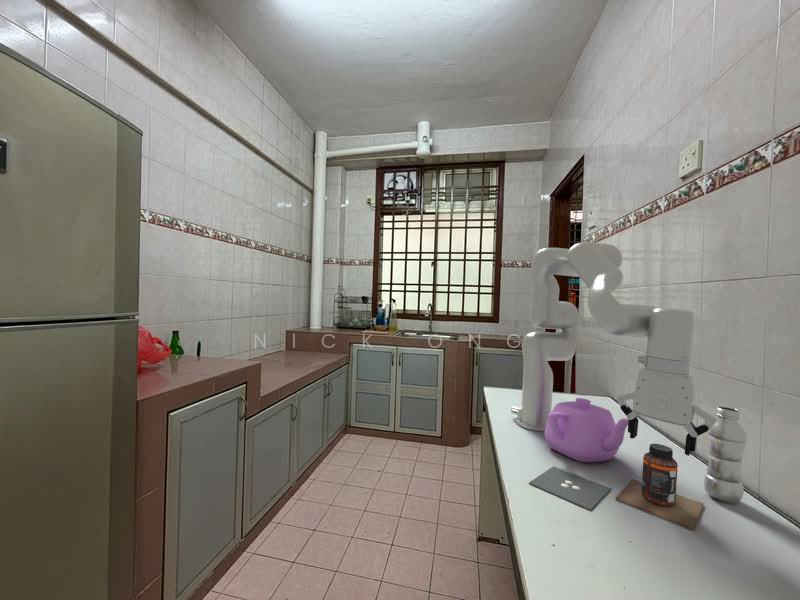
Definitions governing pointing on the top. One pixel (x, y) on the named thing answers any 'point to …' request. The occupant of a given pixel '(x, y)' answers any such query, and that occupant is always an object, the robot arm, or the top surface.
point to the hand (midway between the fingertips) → (659, 444)
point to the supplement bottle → (659, 475)
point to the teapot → (584, 431)
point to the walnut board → (679, 513)
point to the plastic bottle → (725, 457)
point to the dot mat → (571, 487)
